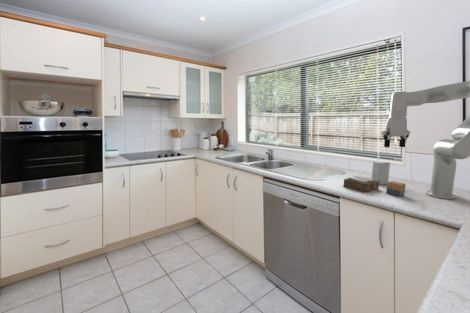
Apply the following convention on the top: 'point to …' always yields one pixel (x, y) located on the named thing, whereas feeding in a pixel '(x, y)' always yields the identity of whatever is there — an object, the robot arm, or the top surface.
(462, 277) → the top surface
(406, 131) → the robot arm
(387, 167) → the skincare box
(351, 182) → the walnut stand
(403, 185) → the block
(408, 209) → the top surface
